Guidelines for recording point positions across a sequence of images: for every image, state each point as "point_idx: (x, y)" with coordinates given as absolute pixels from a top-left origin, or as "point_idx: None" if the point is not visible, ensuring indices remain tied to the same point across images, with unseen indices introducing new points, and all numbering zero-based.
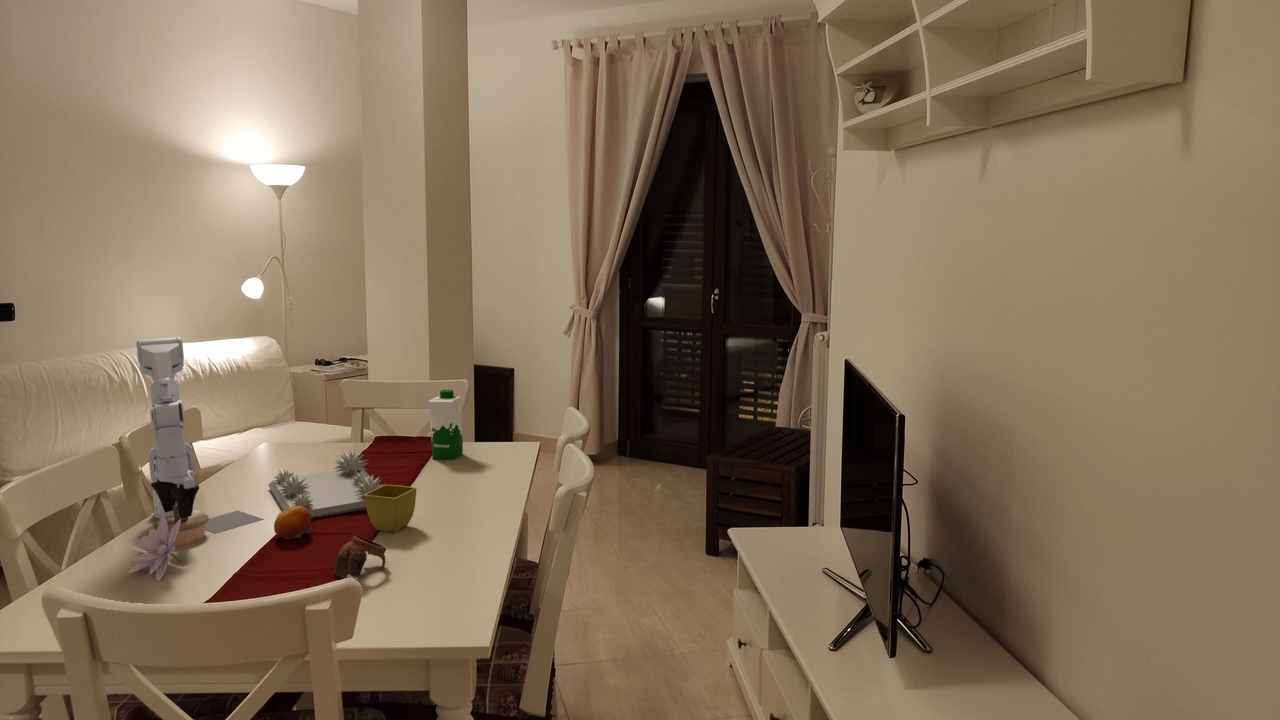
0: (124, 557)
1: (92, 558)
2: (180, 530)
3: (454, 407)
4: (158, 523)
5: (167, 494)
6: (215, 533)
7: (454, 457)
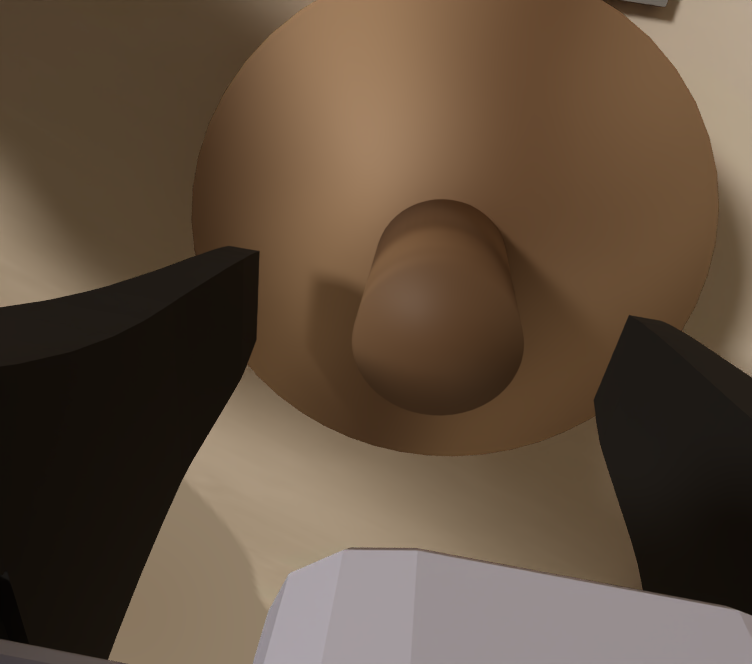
0: (406, 525)
1: (270, 568)
2: None
3: None
4: (321, 393)
5: (160, 430)
6: (666, 3)
7: None
